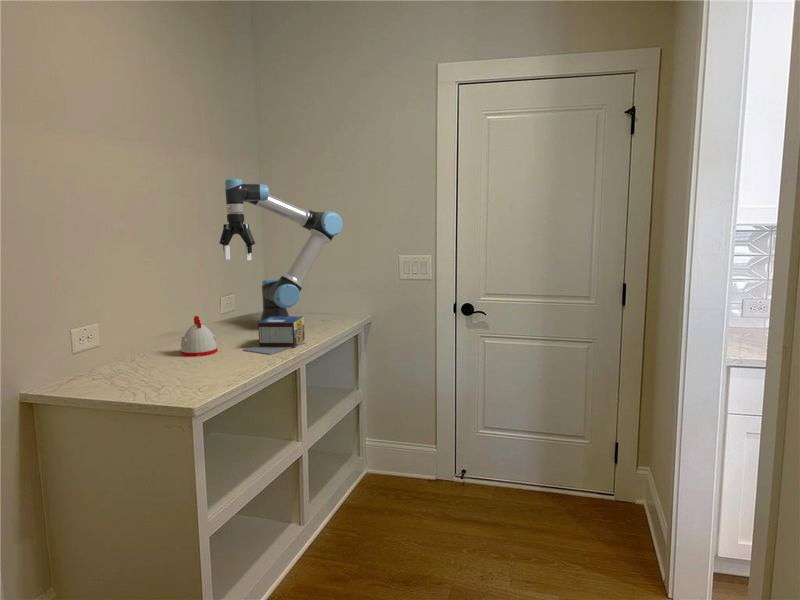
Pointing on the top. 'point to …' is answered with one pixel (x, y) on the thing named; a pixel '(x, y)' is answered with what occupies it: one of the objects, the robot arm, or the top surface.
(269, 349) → the slate rubber mat
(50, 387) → the top surface
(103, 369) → the top surface
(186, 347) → the kitchen timer
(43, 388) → the top surface
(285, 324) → the protein box
